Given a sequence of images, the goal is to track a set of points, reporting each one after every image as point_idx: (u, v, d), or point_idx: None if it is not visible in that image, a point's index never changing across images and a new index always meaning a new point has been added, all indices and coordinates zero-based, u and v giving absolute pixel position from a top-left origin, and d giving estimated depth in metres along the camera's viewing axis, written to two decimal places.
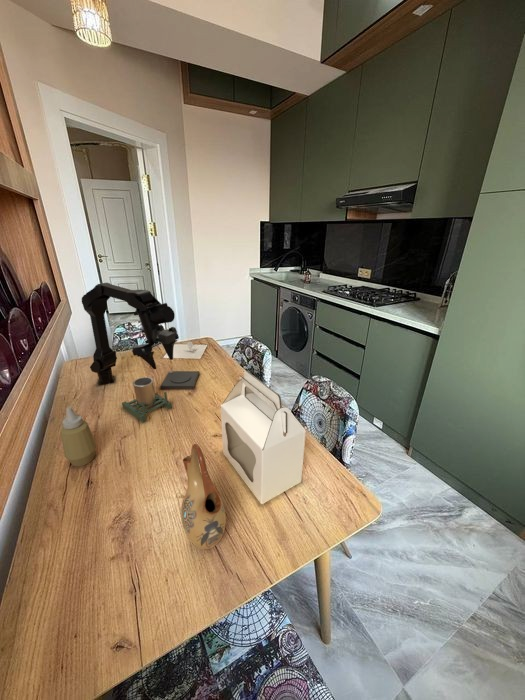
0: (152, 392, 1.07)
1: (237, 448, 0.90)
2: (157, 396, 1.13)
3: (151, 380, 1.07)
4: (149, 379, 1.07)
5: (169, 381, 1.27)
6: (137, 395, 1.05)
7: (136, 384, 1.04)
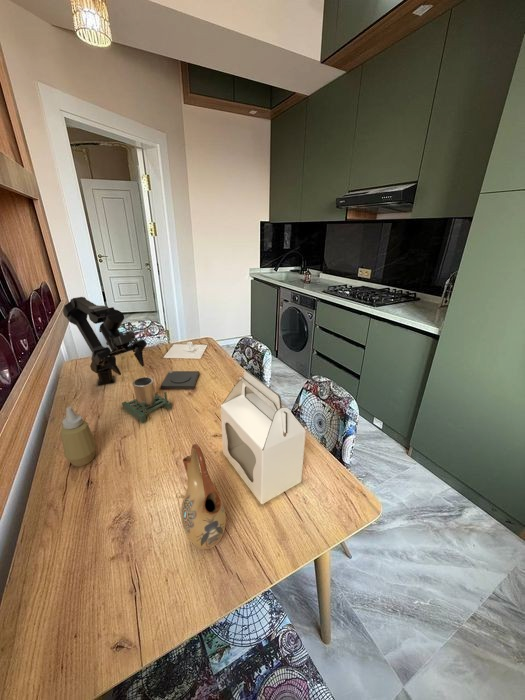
0: (152, 392, 1.07)
1: (237, 448, 0.90)
2: (157, 396, 1.13)
3: (151, 380, 1.07)
4: (149, 379, 1.07)
5: (169, 381, 1.27)
6: (137, 395, 1.05)
7: (136, 384, 1.04)
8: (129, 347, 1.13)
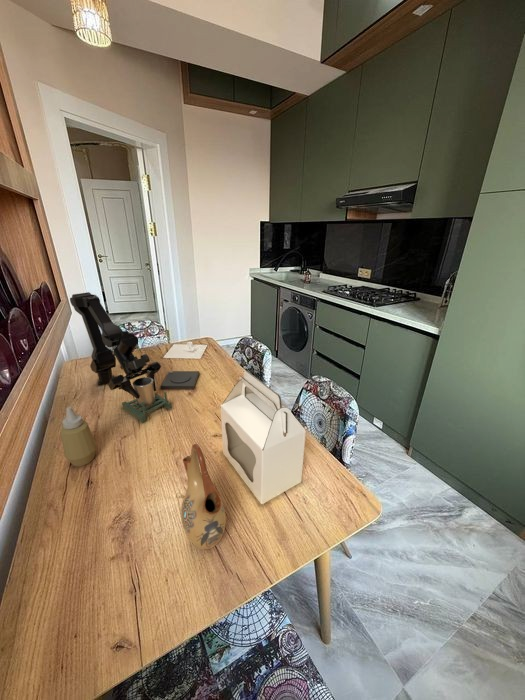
0: (152, 392, 1.07)
1: (237, 448, 0.90)
2: (157, 396, 1.13)
3: (151, 380, 1.07)
4: (149, 379, 1.07)
5: (169, 381, 1.27)
6: None
7: (136, 384, 1.04)
8: (143, 370, 1.10)
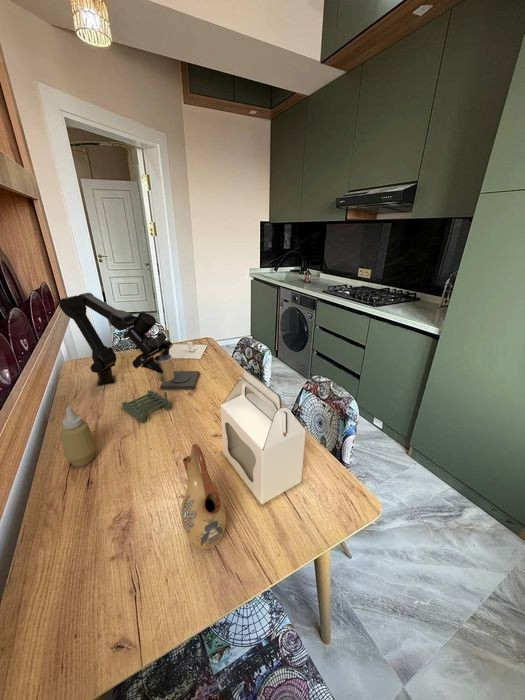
0: (172, 366, 1.16)
1: (237, 448, 0.90)
2: (157, 396, 1.13)
3: (170, 355, 1.16)
4: (167, 355, 1.16)
5: (169, 381, 1.27)
6: None
7: (159, 360, 1.12)
8: (158, 349, 1.18)
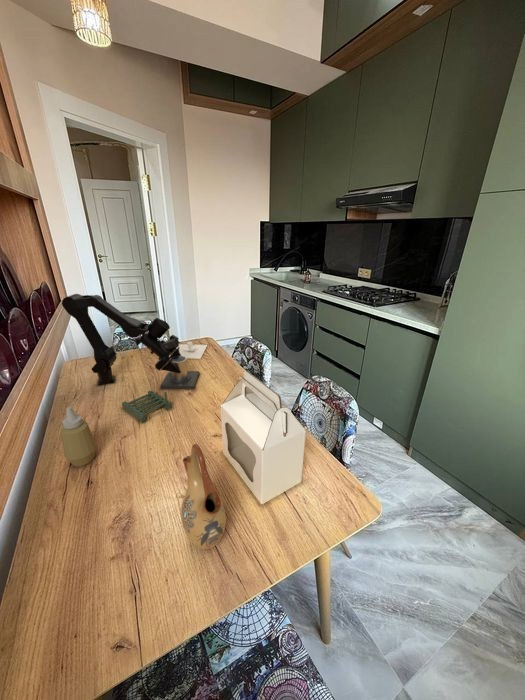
0: None
1: (237, 448, 0.90)
2: (157, 396, 1.13)
3: (183, 356, 1.28)
4: (180, 356, 1.28)
5: (169, 381, 1.27)
6: None
7: (177, 361, 1.23)
8: (169, 351, 1.28)
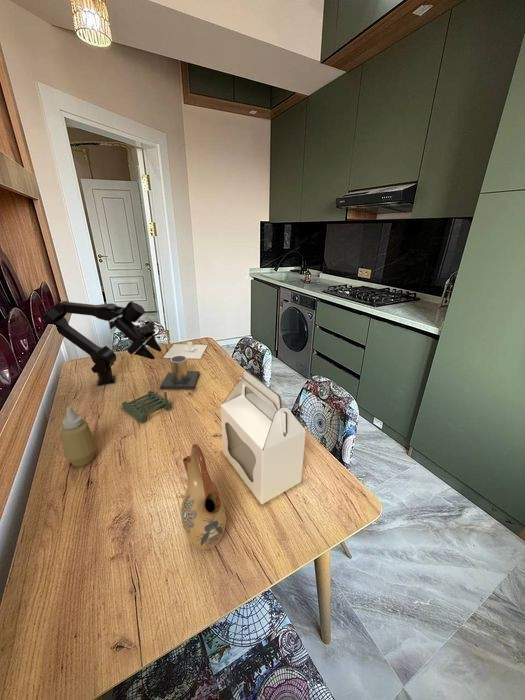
0: None
1: (237, 448, 0.90)
2: (157, 396, 1.13)
3: (183, 356, 1.28)
4: (180, 356, 1.28)
5: (169, 381, 1.27)
6: (179, 370, 1.25)
7: (177, 361, 1.23)
8: (144, 337, 1.24)
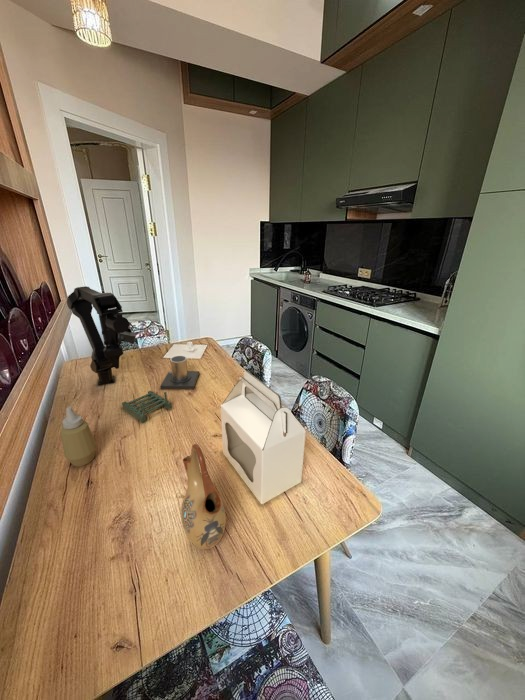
0: None
1: (237, 448, 0.90)
2: (157, 396, 1.13)
3: (183, 356, 1.28)
4: (180, 356, 1.28)
5: (169, 381, 1.27)
6: (179, 370, 1.25)
7: (177, 361, 1.23)
8: None
